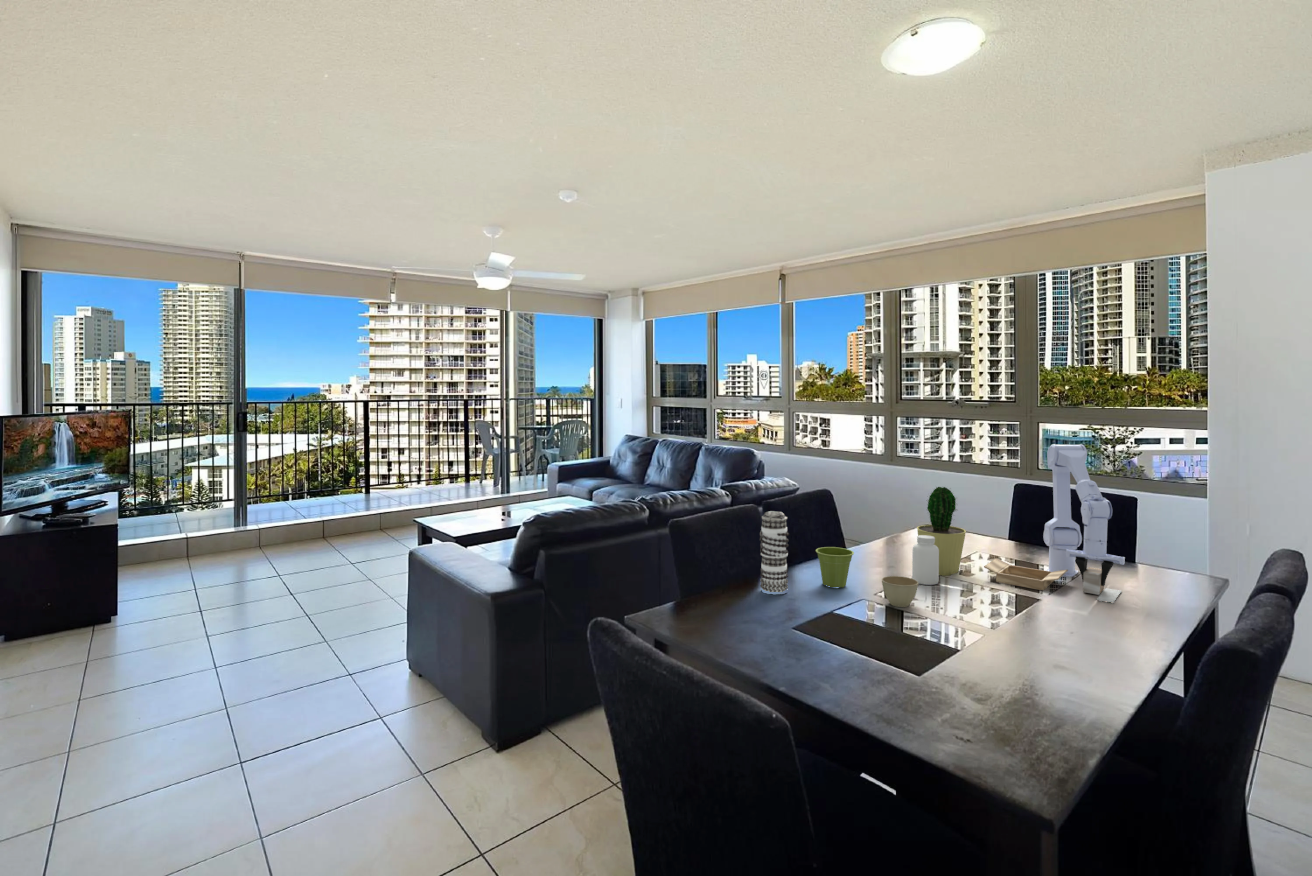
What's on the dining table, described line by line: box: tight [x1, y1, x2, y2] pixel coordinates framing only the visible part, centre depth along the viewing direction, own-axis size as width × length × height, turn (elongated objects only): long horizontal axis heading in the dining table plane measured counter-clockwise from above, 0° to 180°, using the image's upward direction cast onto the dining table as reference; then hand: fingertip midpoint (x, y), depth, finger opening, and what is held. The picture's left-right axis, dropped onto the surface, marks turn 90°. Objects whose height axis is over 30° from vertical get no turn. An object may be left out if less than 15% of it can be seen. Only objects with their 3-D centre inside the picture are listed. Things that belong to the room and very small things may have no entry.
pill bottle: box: [911, 535, 940, 586], centre depth 203 cm, size 8×8×15 cm
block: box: [1082, 567, 1105, 596], centre depth 189 cm, size 8×4×6 cm, turn 136°
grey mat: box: [1095, 587, 1122, 604], centre depth 189 cm, size 14×12×1 cm
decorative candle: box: [759, 510, 790, 592], centre depth 195 cm, size 9×9×25 cm
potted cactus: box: [916, 486, 967, 577], centre depth 214 cm, size 15×15×30 cm
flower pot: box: [881, 575, 919, 608], centre depth 182 cm, size 10×10×7 cm
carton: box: [983, 558, 1068, 591], centre depth 200 cm, size 13×21×5 cm, turn 46°
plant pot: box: [815, 546, 855, 588], centre depth 200 cm, size 12×12×11 cm
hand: (1093, 583), depth 189 cm, fingers closed on block, 4 cm apart
